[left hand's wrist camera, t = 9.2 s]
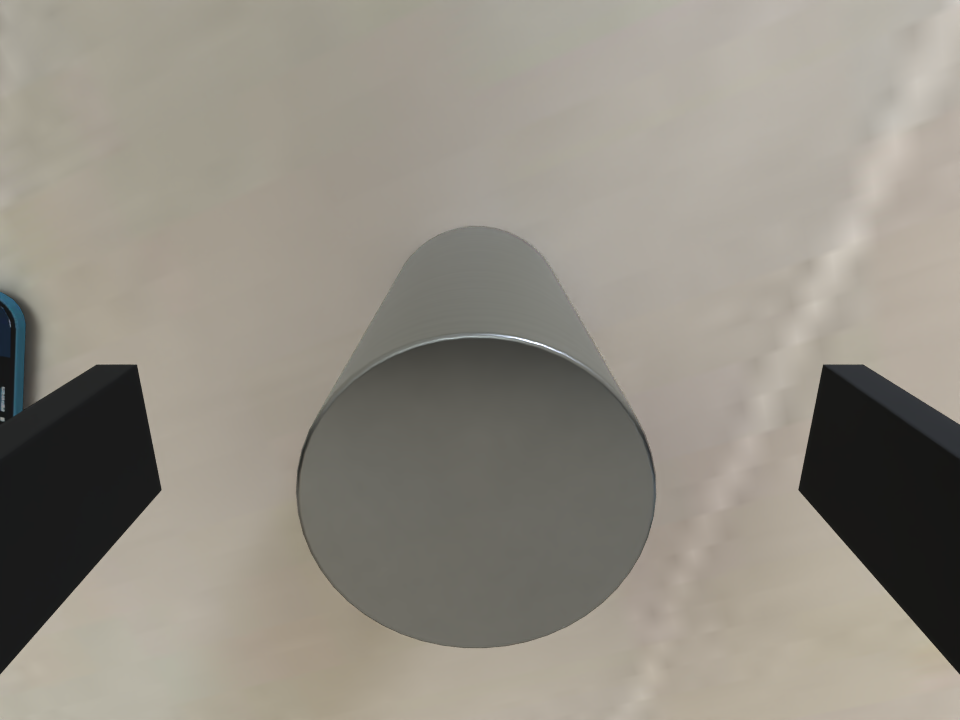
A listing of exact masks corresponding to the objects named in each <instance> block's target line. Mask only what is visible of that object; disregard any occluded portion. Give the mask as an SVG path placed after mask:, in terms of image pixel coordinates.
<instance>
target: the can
mask: <svg viewBox="0 0 960 720" xmlns="http://www.w3.org/2000/svg"><path fill="white" fill-rule="evenodd" d="M296 497H297V507H298V514H299V519H300V523H301V527H302V531H303V534H304V537H305V539H306V542H307V544H308V547H309V549H310V552H311V554H312V556H313V557H314V559H315V561H316V563H317V564H318V566H319V568H320V569H321V571H322V572H323V574H324V575H325V576H326V578H327V579H328V580H329V581H330V583H331V584H332V585H333V587H334V588H335V589H336V590H337V591H338V592H339V593H340V594H341V595H342V596H343V597H344V598H345V599H346V600H347V601H348V602H350V603H351V604H352V605H353V606H355V607H356V608H357V609H358V610H360V611H361V612H362V613H364V614H365V615H366V616H368V617H370V618H371V619H373V620H375V621H376V622H378V623H380V624H381V625H383V626H385V627H387V628H389V629H392V630H394V631H396V632H398V633H400V634H403V635H406V636H409V637H412V638H415V639H418V640H421V641H424V642H429V643H434V644H438V645H443V646H451V647H460V648H491V647H501V646H509V645H514V644H519V643H524V642H528V641H531V640H534V639H537V638H541V637H544V636H547V635H549V634H552V633H554V632H556V631H558V630H561V629H563V628H565V627H567V626H569V625H571V624H572V623H574V622H576V621H578V620H579V619H581V618H583V617H584V616H586V615H587V614H588V613H590V612H591V611H592V610H594V609H595V608H596V607H598V606H599V605H600V604H602V603H603V602H604V601H605V600H606V599H607V598H608V597H609V596H610V595H611V594H612V593H613V592H614V591H615V590H616V589H617V588H618V587H619V585H620V584H621V583H622V582H623V580H624V579H625V578H626V577H627V575H628V574H629V573H630V571H631V570H632V568H633V566H634V565H635V563H636V561H637V560H638V558H639V556H640V554H641V552H642V550H643V547H644V545H645V543H646V540H647V538H648V535H649V532H650V528H651V524H652V520H653V517H654V510H655V502H656V474H655V468H654V463H653V457H652V453H651V450H650V447H649V444H648V441H647V438H646V435H645V433H644V431H643V429H642V427H641V425H640V423H639V421H638V419H637V417H636V416H635V414H634V412H633V410H632V408H631V407H630V405H629V403H628V401H627V400H626V398H625V396H624V394H623V393H622V391H621V389H620V387H619V386H618V384H617V382H616V381H615V379H614V377H613V375H612V374H611V372H610V370H609V368H608V367H607V365H606V363H605V361H604V360H603V358H602V356H601V354H600V353H599V351H598V349H597V347H596V346H595V344H594V342H593V340H592V339H591V337H590V335H589V333H588V332H587V330H586V328H585V326H584V325H583V323H582V321H581V319H580V318H579V316H578V314H577V313H576V311H575V309H574V307H573V306H572V304H571V302H570V300H569V299H568V297H567V295H566V293H565V292H564V290H563V288H562V286H561V285H560V283H559V281H558V279H557V278H556V276H555V274H554V272H553V271H552V269H551V267H550V266H549V264H548V263H547V261H546V260H545V259H544V257H543V256H542V255H541V254H540V253H539V252H538V251H537V250H536V249H535V248H534V247H532V246H531V245H530V244H529V243H528V242H526V241H524V240H523V239H521V238H520V237H518V236H516V235H514V234H511V233H509V232H507V231H503V230H500V229H496V228H491V227H484V226H470V227H462V228H457V229H453V230H450V231H447V232H444V233H442V234H440V235H437V236H436V237H434V238H432V239H430V240H429V241H427V242H426V243H425V244H423V245H422V246H421V247H419V248H418V249H417V250H416V251H415V252H414V253H413V254H412V255H411V257H410V258H409V259H408V261H407V262H406V263H405V265H404V266H403V268H402V270H401V271H400V273H399V275H398V277H397V278H396V280H395V282H394V284H393V285H392V287H391V289H390V290H389V292H388V294H387V296H386V297H385V299H384V301H383V303H382V304H381V306H380V308H379V309H378V311H377V313H376V315H375V316H374V318H373V320H372V322H371V323H370V325H369V327H368V329H367V330H366V332H365V334H364V335H363V337H362V339H361V341H360V342H359V344H358V346H357V348H356V349H355V351H354V353H353V354H352V356H351V358H350V360H349V361H348V363H347V365H346V367H345V368H344V370H343V372H342V373H341V375H340V377H339V379H338V380H337V382H336V384H335V386H334V387H333V389H332V391H331V392H330V394H329V396H328V398H327V399H326V401H325V403H324V405H323V406H322V408H321V410H320V412H319V413H318V415H317V417H316V419H315V420H314V422H313V424H312V426H311V428H310V429H309V432H308V435H307V437H306V440H305V443H304V445H303V448H302V451H301V456H300V460H299V465H298V470H297V484H296Z"/></svg>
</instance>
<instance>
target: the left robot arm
mask: <svg viewBox="0 0 960 720" xmlns="http://www.w3.org/2000/svg"><path fill="white" fill-rule="evenodd" d="M160 491H161V485H160V480H159V475H158V469H157V464H156V459H155V454H154V449H153V444H152V439H151V434H150V429H149V424H148V419H147V414H146V409H145V404H144V399H143V393H142V388H141V383H140V378H139V373H138V368H137V365H95V366H94V367H92V368H91V369H89V370H87V371H86V372H84V373H83V374H81V375H79V376H78V377H76V378H75V379H73V380H71V381H70V382H68V383H67V384H65V385H63V386H62V387H60V388H58V389H57V390H55V391H54V392H52V393H50V394H49V395H47V396H46V397H44V398H42V399H41V400H39V401H38V402H36V403H34V404H33V405H31V406H30V407H28V408H26V409H25V410H23V411H21V412H20V413H18V414H17V415H15V416H13V417H12V418H10V419H9V420H7V421H5V422H4V423H2V424H1V425H0V674H1V673H2V672H3V671H4V669H5V668H6V667H7V666H8V665H9V664H10V663H11V661H12V660H13V659H14V658H15V657H16V656H17V655H18V653H19V652H20V651H21V650H22V649H23V648H24V647H25V645H26V644H27V643H28V642H29V641H30V640H31V639H32V637H33V636H34V635H35V634H36V633H37V632H38V631H39V629H40V628H41V627H42V626H43V625H44V624H45V623H46V621H47V620H48V619H49V618H50V617H51V616H52V615H53V613H54V612H55V611H56V610H57V609H58V608H59V607H60V605H61V604H62V603H63V602H64V601H65V600H66V599H67V597H68V596H69V595H70V594H71V593H72V592H73V591H74V589H75V588H76V587H77V586H78V585H79V584H80V583H81V581H82V580H83V579H84V578H85V577H86V576H87V575H88V573H89V572H90V571H91V570H92V569H93V568H94V567H95V565H96V564H97V563H98V562H99V561H100V560H101V559H102V557H103V556H104V555H105V554H106V553H107V552H108V551H109V549H110V548H111V547H112V546H113V545H114V544H115V543H116V541H117V540H118V539H119V538H120V537H121V536H122V535H123V533H124V532H125V531H126V530H127V529H128V528H129V527H130V525H131V524H132V523H133V522H134V521H135V520H136V519H137V517H138V516H139V515H140V514H141V513H142V512H143V511H144V509H145V508H146V507H147V506H148V505H149V504H150V503H151V502H152V500H153V499H154V498H155V497H156V496H157V495H158V494H159V492H160ZM799 491H800V492H801V494H802V495H803V496H804V497H805V498H806V499H807V500H808V502H809V503H810V504H811V505H812V506H813V507H814V508H815V510H816V511H817V512H818V513H819V514H820V515H821V516H822V517H823V519H824V520H825V521H826V522H827V523H828V524H829V525H830V527H831V528H832V529H833V530H834V531H835V532H836V533H837V535H838V536H839V537H840V538H841V539H842V540H843V541H844V543H845V544H846V545H847V546H848V547H849V548H850V549H851V551H852V552H853V553H854V554H855V555H856V556H857V557H858V559H859V560H860V561H861V562H862V563H863V564H864V565H865V567H866V568H867V569H868V570H869V571H870V572H871V573H872V575H873V576H874V577H875V578H876V579H877V580H878V581H879V583H880V584H881V585H882V586H883V587H884V588H885V589H886V591H887V592H888V593H889V594H890V595H891V596H892V597H893V599H894V600H895V601H896V602H897V603H898V604H899V605H900V607H901V608H902V609H903V610H904V611H905V612H906V613H907V615H908V616H909V617H910V618H911V619H912V620H913V621H914V623H915V624H916V625H917V626H918V627H919V628H920V629H921V631H922V632H923V633H924V634H925V635H926V636H927V637H928V639H929V640H930V641H931V642H932V643H933V644H934V645H935V647H936V648H937V649H938V650H939V651H940V652H941V653H942V655H943V656H944V657H945V658H946V659H947V660H948V661H949V663H950V664H951V665H952V666H953V667H954V668H955V669H956V671H957V672H958V673H959V674H960V425H959V424H958V423H956V422H955V421H953V420H951V419H950V418H948V417H947V416H945V415H943V414H942V413H940V412H939V411H937V410H935V409H934V408H932V407H930V406H929V405H927V404H926V403H924V402H922V401H921V400H919V399H918V398H916V397H914V396H913V395H911V394H910V393H908V392H906V391H905V390H903V389H902V388H900V387H898V386H897V385H895V384H893V383H892V382H890V381H889V380H887V379H885V378H884V377H882V376H881V375H879V374H877V373H876V372H874V371H873V370H871V369H869V368H868V367H866V366H865V365H823V368H822V373H821V378H820V383H819V388H818V393H817V399H816V404H815V409H814V414H813V419H812V424H811V429H810V434H809V439H808V444H807V449H806V454H805V459H804V464H803V469H802V474H801V480H800V485H799Z"/></svg>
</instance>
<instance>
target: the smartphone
mask: <svg viewBox="0 0 960 720" xmlns="http://www.w3.org/2000/svg"><path fill="white" fill-rule="evenodd" d="M25 325H26V324H25V319H24V315H23V313H22V311H21V309H20V307H19V306H18V304H17V303H16V302H15V301H14V300H13V299H11V298H10V297H8V296H7V295H5V294H3V293H1V292H0V425H1V424H2V423H4V422H5V421H7V420H9V419H10V418H12V417H13V416H15V415H17V414H18V413H20V412H21V411H23V384H24V355H25Z"/></svg>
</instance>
